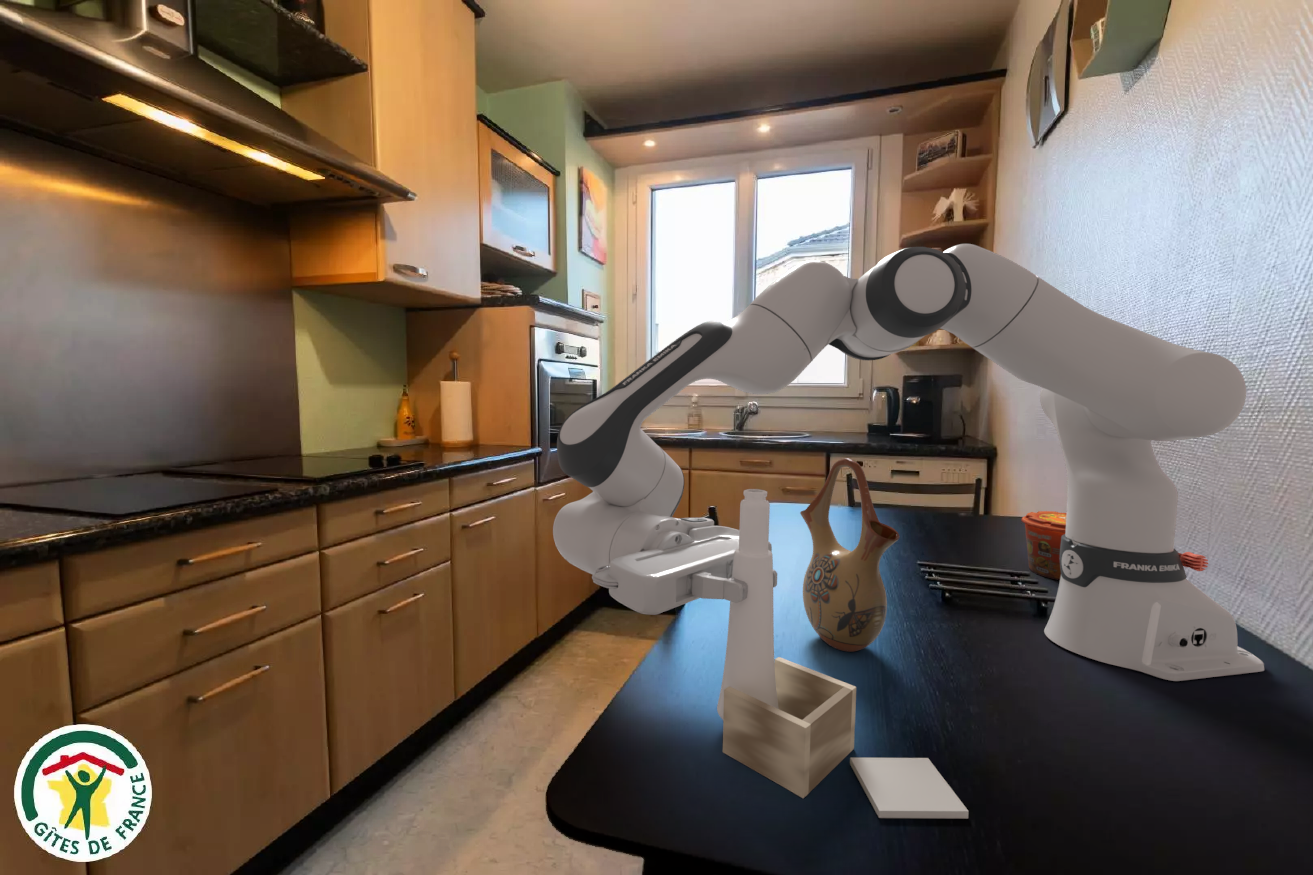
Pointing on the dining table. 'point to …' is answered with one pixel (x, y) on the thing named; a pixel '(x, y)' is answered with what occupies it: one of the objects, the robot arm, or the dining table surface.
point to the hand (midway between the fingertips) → (759, 586)
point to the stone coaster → (907, 788)
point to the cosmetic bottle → (752, 608)
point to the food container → (1044, 542)
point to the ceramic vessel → (846, 571)
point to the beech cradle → (792, 727)
